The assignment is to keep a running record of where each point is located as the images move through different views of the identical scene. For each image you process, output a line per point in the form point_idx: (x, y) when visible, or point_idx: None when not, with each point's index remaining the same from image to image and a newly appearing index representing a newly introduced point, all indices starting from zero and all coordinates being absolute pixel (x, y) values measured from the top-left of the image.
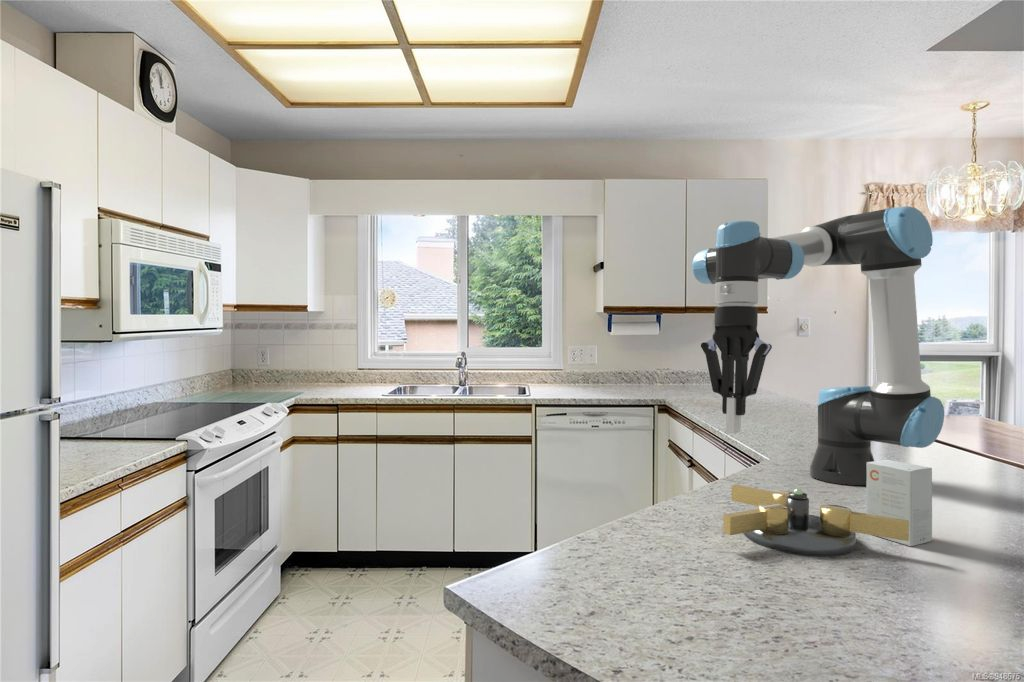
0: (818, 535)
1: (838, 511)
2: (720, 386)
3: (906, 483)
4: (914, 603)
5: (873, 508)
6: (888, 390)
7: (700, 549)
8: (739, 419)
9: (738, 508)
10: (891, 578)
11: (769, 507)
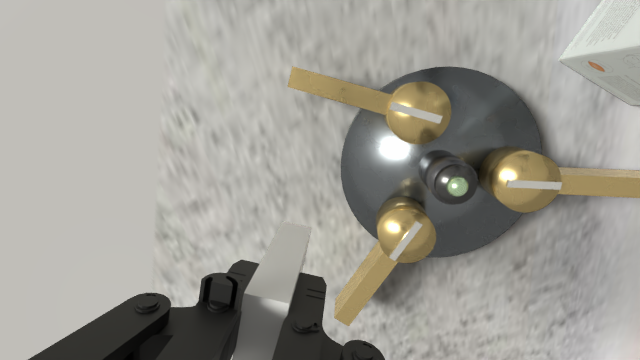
0: (476, 203)
1: (533, 203)
2: (143, 351)
3: None
4: (583, 345)
5: (610, 63)
6: None
7: None
8: (303, 257)
9: (298, 25)
10: (568, 277)
11: (402, 249)
